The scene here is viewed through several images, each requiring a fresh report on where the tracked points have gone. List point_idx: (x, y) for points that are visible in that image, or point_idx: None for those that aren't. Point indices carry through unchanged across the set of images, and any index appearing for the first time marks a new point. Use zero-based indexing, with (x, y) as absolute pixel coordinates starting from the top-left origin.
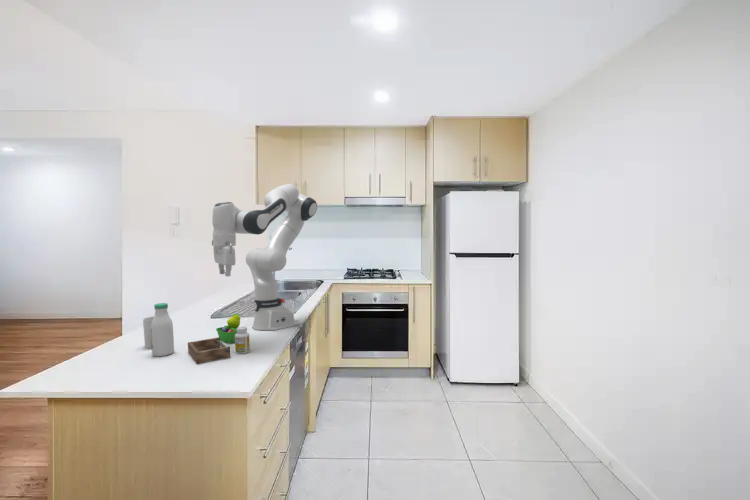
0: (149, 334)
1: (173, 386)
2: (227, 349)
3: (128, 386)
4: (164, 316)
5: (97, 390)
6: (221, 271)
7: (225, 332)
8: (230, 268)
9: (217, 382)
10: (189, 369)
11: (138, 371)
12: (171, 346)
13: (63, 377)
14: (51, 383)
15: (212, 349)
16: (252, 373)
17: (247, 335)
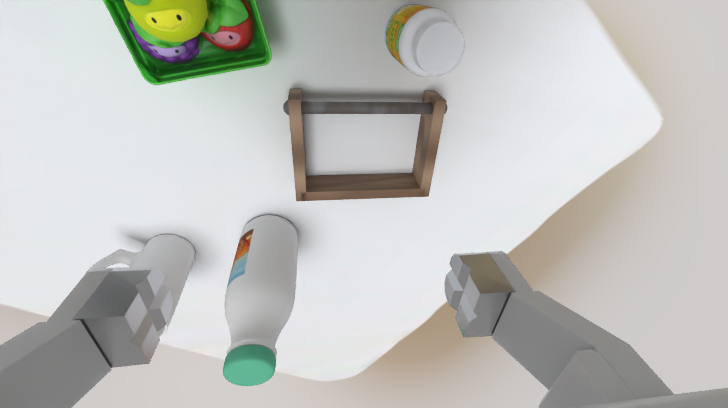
0: (182, 289)
1: (513, 232)
2: (446, 109)
3: None
4: (279, 323)
5: (429, 314)
6: (153, 332)
7: (256, 66)
8: (604, 346)
9: (572, 165)
10: (445, 199)
11: (378, 275)
12: (287, 233)
13: (325, 352)
14: (346, 358)
15: (429, 154)
16: (604, 81)
17: (457, 26)
